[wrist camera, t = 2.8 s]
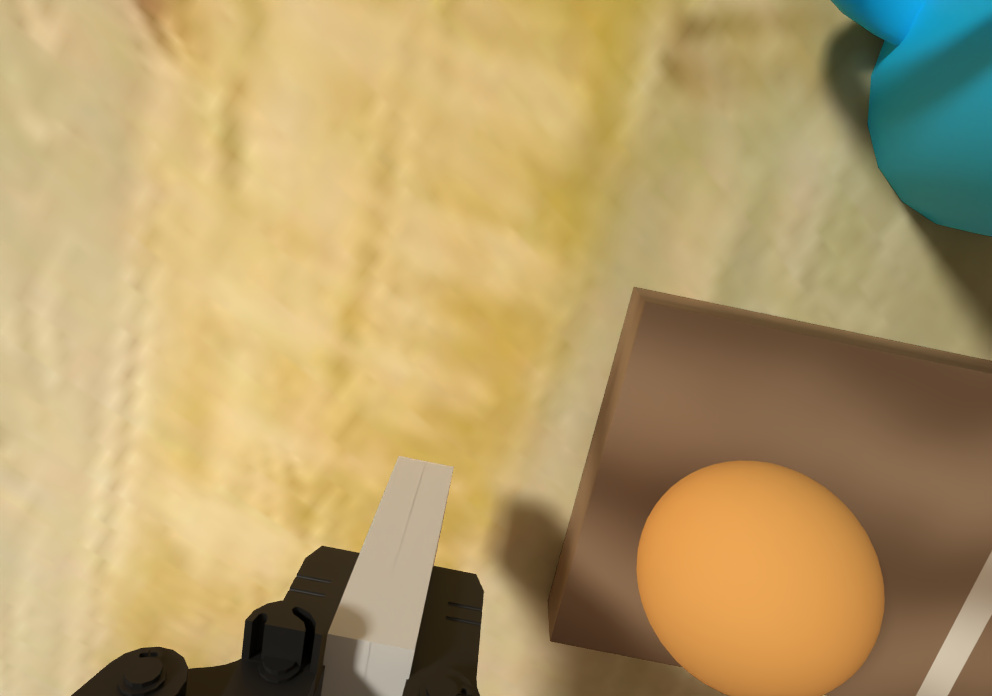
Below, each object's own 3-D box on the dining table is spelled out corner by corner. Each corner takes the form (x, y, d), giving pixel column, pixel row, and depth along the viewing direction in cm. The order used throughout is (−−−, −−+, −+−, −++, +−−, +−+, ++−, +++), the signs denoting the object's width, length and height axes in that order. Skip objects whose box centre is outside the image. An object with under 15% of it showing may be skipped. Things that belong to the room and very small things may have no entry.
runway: (634, 286, 20) (645, 302, 18) (1251, 414, 20) (1327, 443, 18) (548, 600, 23) (549, 641, 22) (1071, 703, 24) (1118, 752, 22)
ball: (651, 406, 19) (706, 520, 13) (848, 446, 19) (988, 577, 13) (600, 573, 21) (630, 738, 15) (781, 609, 21) (878, 786, 15)
